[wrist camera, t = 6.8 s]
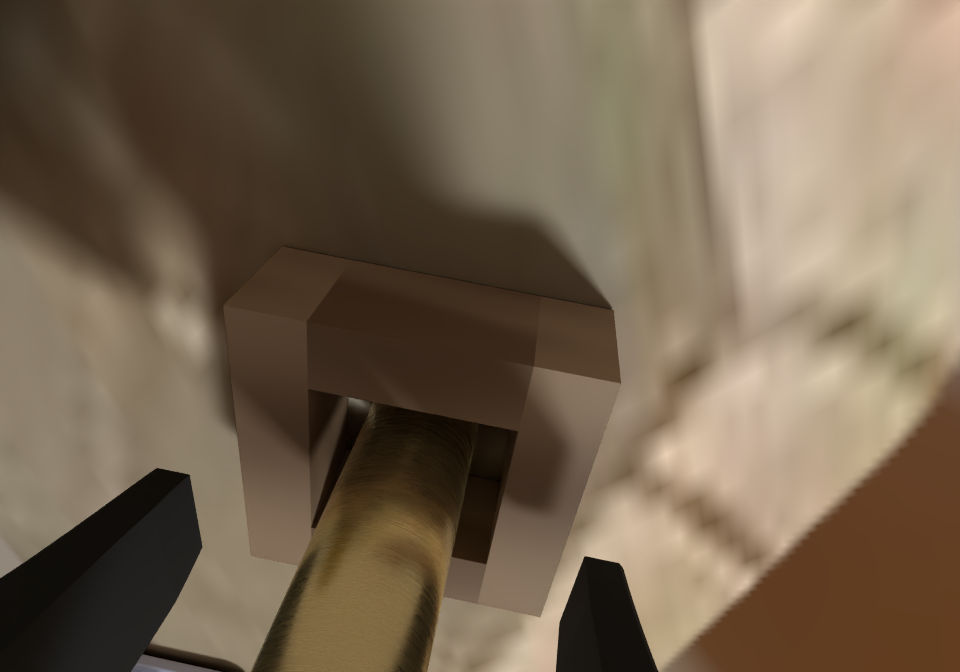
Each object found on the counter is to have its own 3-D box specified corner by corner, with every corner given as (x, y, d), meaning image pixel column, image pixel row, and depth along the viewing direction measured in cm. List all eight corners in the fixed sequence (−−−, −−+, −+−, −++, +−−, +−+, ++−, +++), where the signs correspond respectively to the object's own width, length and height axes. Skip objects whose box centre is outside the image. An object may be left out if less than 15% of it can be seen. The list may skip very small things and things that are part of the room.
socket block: (545, 530, 16) (540, 617, 14) (292, 478, 16) (250, 555, 14) (613, 310, 12) (620, 383, 10) (282, 246, 13) (222, 304, 10)
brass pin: (473, 454, 15) (390, 857, 8) (376, 434, 15) (215, 818, 8) (488, 375, 14) (402, 782, 7) (381, 353, 14) (193, 735, 7)
